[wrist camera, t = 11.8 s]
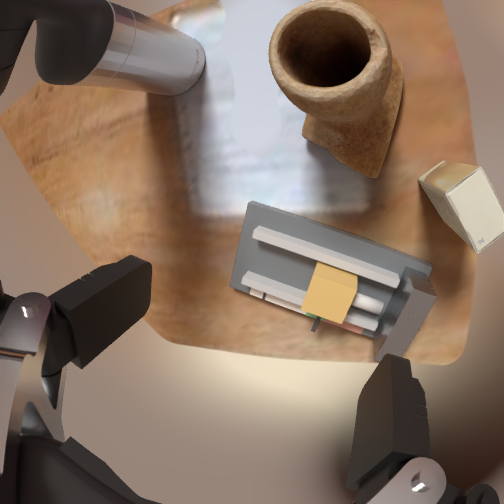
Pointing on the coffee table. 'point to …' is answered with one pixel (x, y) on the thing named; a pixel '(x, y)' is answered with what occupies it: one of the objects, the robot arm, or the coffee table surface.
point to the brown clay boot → (339, 79)
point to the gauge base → (313, 263)
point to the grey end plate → (404, 314)
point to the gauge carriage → (335, 294)
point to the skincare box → (465, 202)
